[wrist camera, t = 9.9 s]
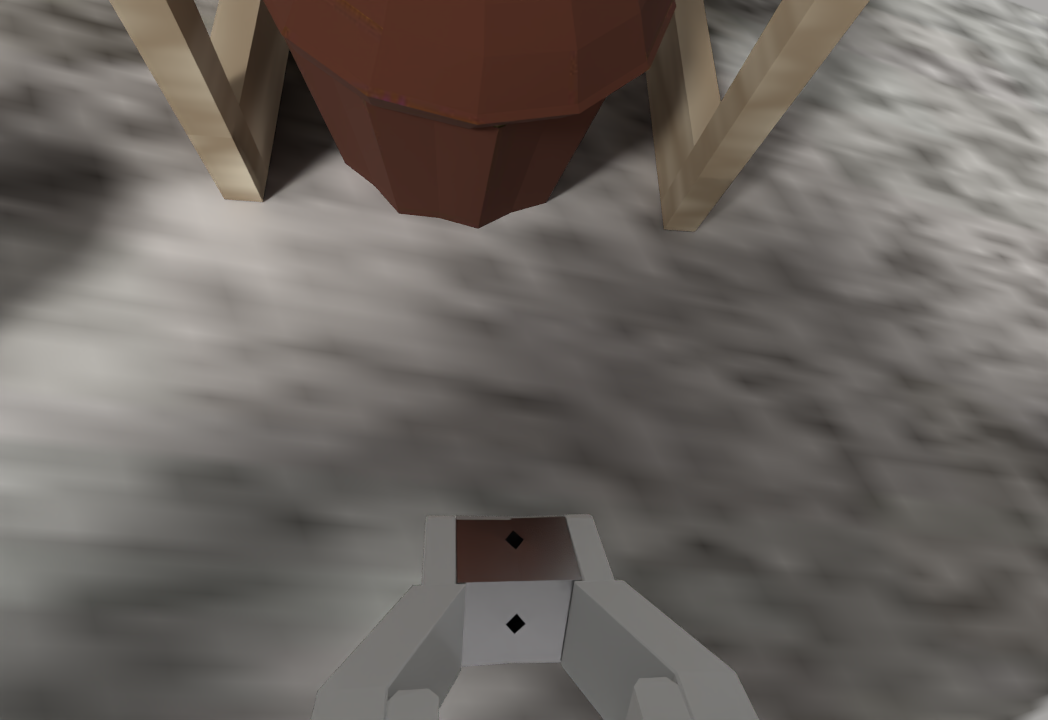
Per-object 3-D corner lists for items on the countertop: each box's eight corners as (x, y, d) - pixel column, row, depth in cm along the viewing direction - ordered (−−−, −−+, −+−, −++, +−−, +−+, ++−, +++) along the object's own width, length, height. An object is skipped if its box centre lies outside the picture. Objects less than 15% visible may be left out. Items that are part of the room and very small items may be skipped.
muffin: (255, 52, 21) (110, -357, 12) (515, -14, 24) (562, -378, 15) (387, 316, 18) (331, 49, 9) (663, 203, 21) (836, -82, 12)
